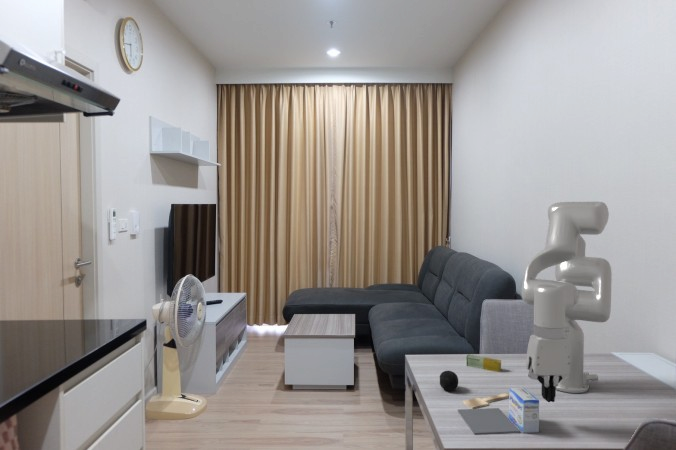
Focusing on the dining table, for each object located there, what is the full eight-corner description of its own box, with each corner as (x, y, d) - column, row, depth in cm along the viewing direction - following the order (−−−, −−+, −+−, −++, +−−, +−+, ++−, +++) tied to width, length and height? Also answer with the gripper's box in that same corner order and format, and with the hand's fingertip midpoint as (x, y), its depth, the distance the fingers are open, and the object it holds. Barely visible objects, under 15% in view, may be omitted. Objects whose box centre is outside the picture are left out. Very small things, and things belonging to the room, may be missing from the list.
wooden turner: (503, 393, 136) (503, 390, 136) (514, 399, 132) (514, 396, 132) (462, 403, 130) (462, 400, 130) (472, 409, 126) (472, 406, 126)
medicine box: (508, 418, 120) (508, 387, 120) (523, 417, 120) (524, 387, 120) (522, 433, 112) (523, 400, 112) (539, 432, 113) (539, 399, 112)
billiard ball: (459, 394, 136) (459, 375, 136) (439, 393, 137) (439, 374, 137) (457, 386, 142) (457, 368, 141) (438, 385, 143) (438, 367, 143)
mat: (498, 409, 125) (498, 408, 125) (520, 432, 112) (520, 431, 112) (457, 410, 125) (457, 409, 125) (474, 434, 112) (474, 432, 112)
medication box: (465, 366, 160) (465, 356, 160) (468, 364, 162) (468, 353, 162) (500, 373, 153) (500, 362, 153) (501, 370, 156) (501, 359, 155)
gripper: (568, 327, 120) (567, 393, 120) (515, 328, 119) (514, 394, 119) (585, 335, 112) (584, 405, 113) (528, 336, 111) (528, 407, 112)
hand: (548, 399), depth 116 cm, fingers closed
